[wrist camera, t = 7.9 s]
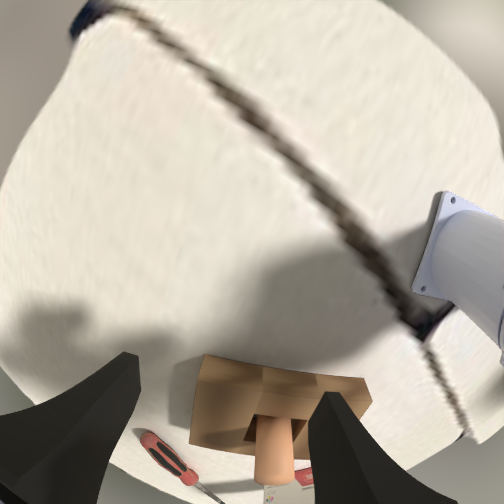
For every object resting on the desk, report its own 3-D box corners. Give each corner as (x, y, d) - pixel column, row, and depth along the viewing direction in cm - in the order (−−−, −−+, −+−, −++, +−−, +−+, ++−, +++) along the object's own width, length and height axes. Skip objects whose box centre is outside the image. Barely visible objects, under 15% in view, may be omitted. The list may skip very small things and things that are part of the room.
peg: (285, 393, 22) (289, 469, 14) (292, 412, 23) (298, 482, 15) (253, 400, 22) (248, 474, 15) (262, 418, 23) (260, 487, 16)
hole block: (363, 378, 21) (372, 401, 18) (322, 438, 24) (326, 459, 21) (204, 354, 21) (197, 379, 18) (194, 421, 24) (188, 443, 21)
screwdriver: (235, 499, 32) (233, 512, 29) (219, 499, 32) (217, 512, 29) (158, 426, 25) (151, 446, 22) (138, 426, 25) (130, 444, 22)
